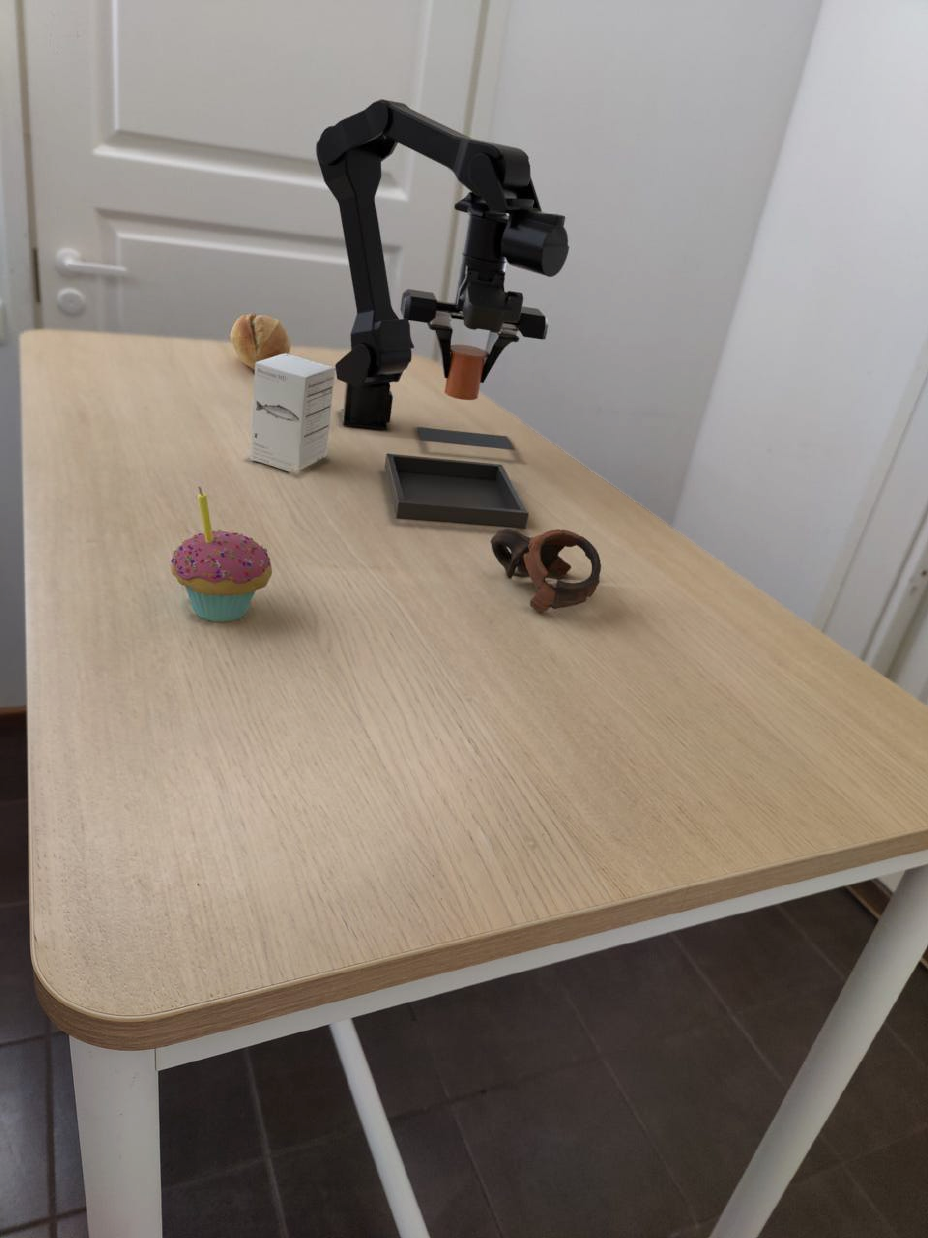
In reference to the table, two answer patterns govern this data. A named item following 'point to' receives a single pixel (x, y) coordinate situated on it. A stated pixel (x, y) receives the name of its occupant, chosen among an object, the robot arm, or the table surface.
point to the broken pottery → (547, 565)
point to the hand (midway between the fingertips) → (463, 379)
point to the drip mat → (464, 438)
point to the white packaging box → (291, 411)
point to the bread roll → (259, 338)
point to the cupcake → (220, 570)
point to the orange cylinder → (465, 372)
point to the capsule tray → (453, 492)
